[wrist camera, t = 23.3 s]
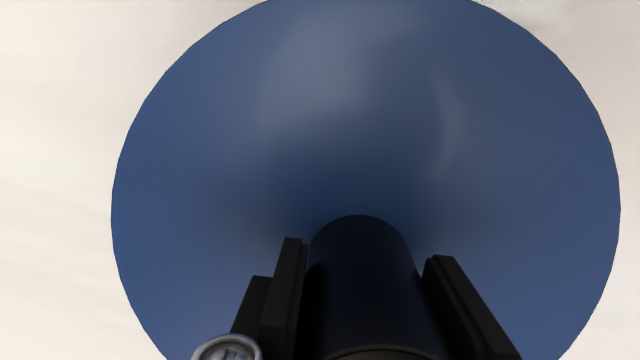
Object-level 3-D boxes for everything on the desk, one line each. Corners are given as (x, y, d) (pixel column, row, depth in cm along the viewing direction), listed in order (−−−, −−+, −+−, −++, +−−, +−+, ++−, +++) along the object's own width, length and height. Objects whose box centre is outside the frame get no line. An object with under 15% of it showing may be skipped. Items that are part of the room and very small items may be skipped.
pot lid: (165, -89, 10) (-172, -424, 3) (700, 84, 11) (1290, 94, 4) (105, 362, 15) (-76, 591, 8) (475, 457, 16) (580, 733, 9)
